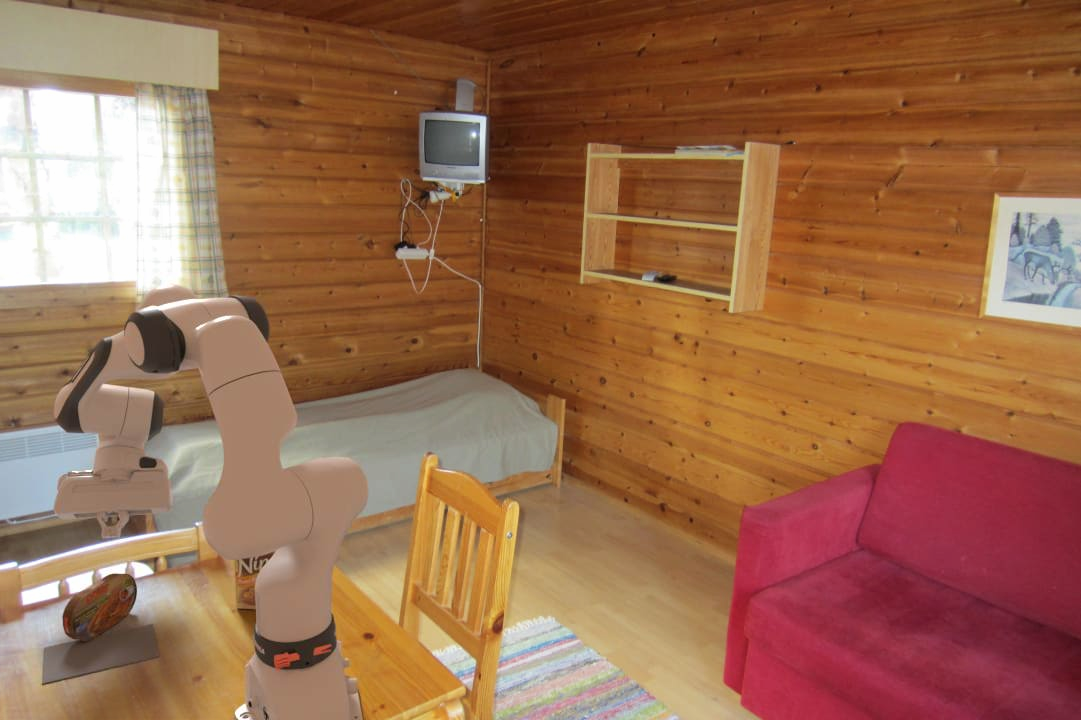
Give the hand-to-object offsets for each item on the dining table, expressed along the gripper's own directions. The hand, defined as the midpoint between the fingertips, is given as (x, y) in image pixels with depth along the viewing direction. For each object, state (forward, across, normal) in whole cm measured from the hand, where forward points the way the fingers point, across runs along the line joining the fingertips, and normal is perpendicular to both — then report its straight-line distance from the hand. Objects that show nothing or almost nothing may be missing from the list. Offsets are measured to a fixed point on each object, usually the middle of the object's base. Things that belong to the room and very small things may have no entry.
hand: (110, 537), depth 152 cm
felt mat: (+22, +2, -4) cm, 22 cm away
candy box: (+14, +27, +4) cm, 31 cm away
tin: (+16, 0, +2) cm, 16 cm away
